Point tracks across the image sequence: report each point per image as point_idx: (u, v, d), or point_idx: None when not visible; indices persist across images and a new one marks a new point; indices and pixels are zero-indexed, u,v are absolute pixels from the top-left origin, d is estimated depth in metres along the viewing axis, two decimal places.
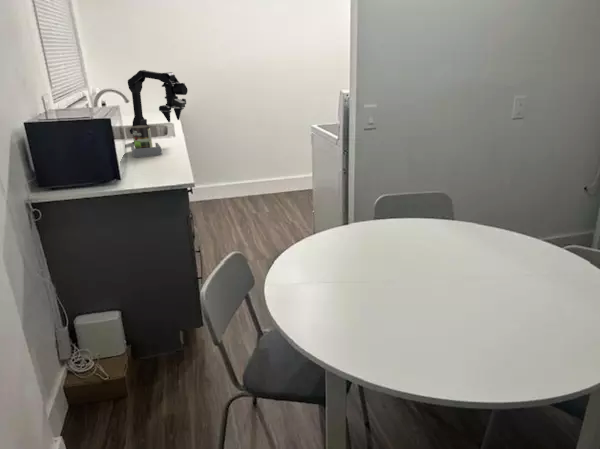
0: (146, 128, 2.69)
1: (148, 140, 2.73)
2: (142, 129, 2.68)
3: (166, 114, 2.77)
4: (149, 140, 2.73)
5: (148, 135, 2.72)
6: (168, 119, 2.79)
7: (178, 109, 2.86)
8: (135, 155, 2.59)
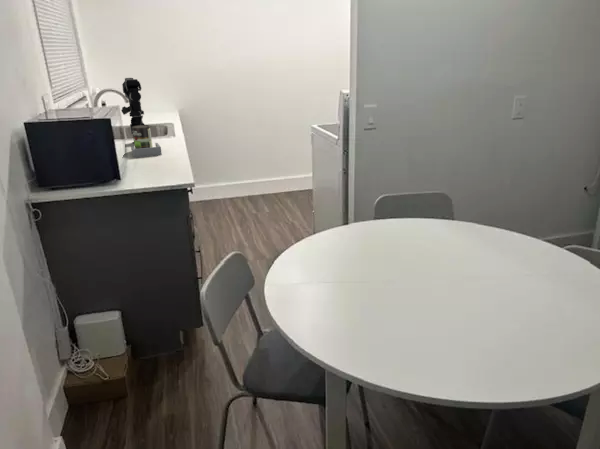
0: (146, 128, 2.69)
1: (148, 140, 2.73)
2: (142, 129, 2.68)
3: None
4: (149, 140, 2.73)
5: (148, 135, 2.72)
6: None
7: None
8: (135, 155, 2.59)
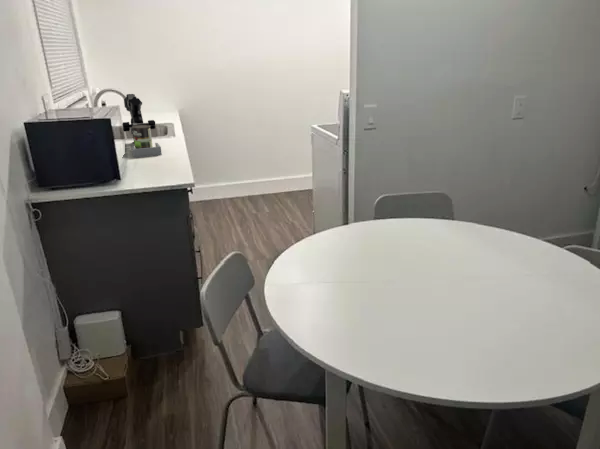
0: (146, 128, 2.69)
1: (149, 140, 2.72)
2: (142, 129, 2.68)
3: None
4: (149, 140, 2.73)
5: (148, 135, 2.71)
6: None
7: None
8: (135, 155, 2.59)
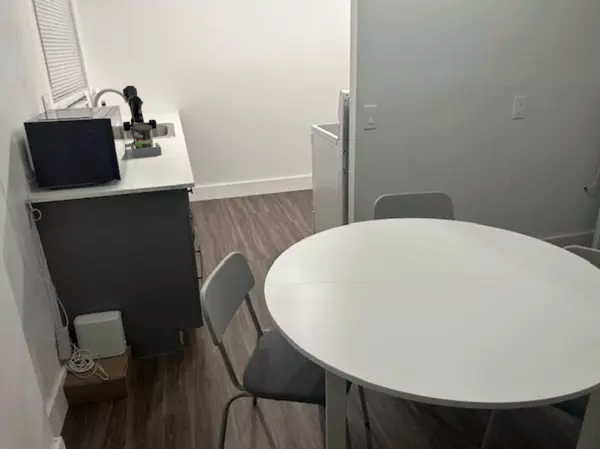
0: (148, 130, 2.64)
1: (150, 141, 2.68)
2: (144, 131, 2.62)
3: None
4: (150, 141, 2.68)
5: (150, 137, 2.67)
6: None
7: None
8: (135, 155, 2.59)
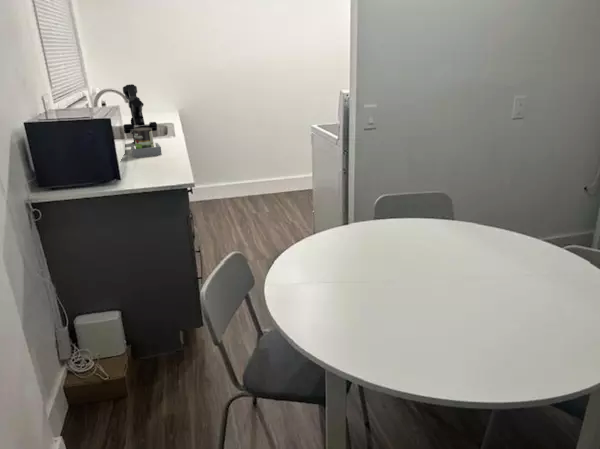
0: (147, 131, 2.61)
1: (150, 143, 2.64)
2: (143, 132, 2.60)
3: None
4: (151, 143, 2.65)
5: (150, 138, 2.63)
6: None
7: None
8: (135, 155, 2.59)
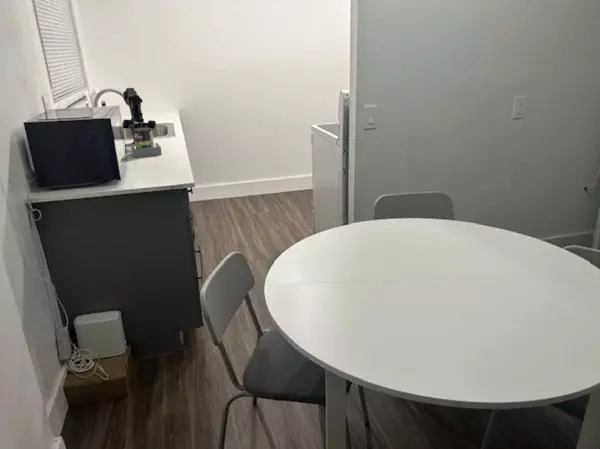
0: (147, 131, 2.61)
1: (150, 143, 2.64)
2: (143, 132, 2.60)
3: None
4: (151, 143, 2.65)
5: (150, 138, 2.63)
6: None
7: None
8: (135, 155, 2.59)
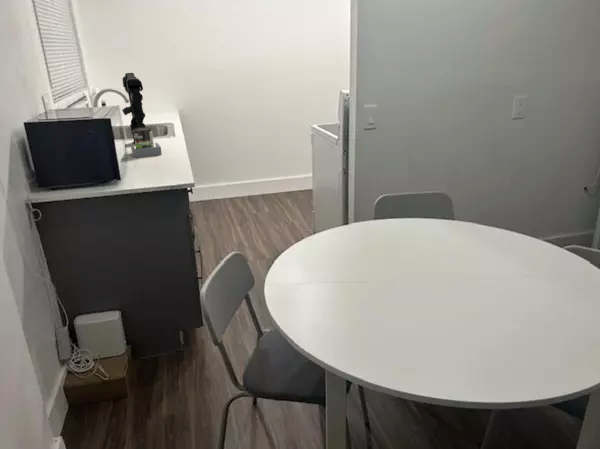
0: (147, 131, 2.61)
1: (150, 143, 2.64)
2: (143, 132, 2.60)
3: None
4: (151, 143, 2.65)
5: (150, 138, 2.63)
6: None
7: None
8: (135, 155, 2.59)
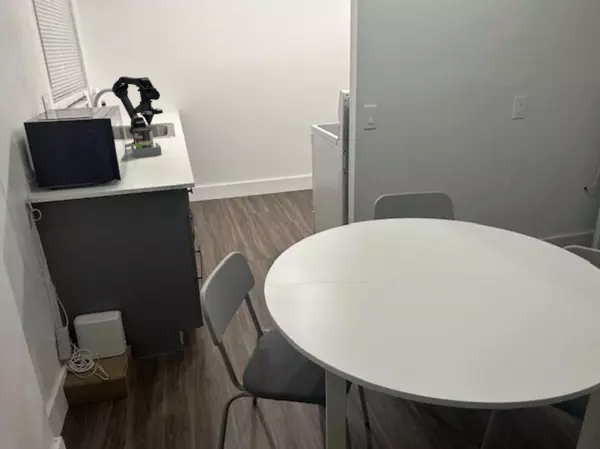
0: (147, 131, 2.61)
1: (150, 143, 2.64)
2: (143, 132, 2.60)
3: None
4: (151, 143, 2.65)
5: (150, 138, 2.63)
6: None
7: None
8: (135, 155, 2.59)
